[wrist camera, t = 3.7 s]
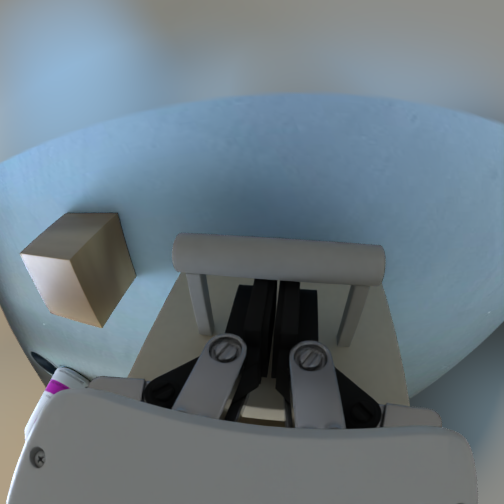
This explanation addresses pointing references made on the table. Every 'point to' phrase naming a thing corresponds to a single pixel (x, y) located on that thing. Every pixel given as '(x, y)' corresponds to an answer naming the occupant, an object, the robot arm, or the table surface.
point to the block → (81, 266)
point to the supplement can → (57, 390)
